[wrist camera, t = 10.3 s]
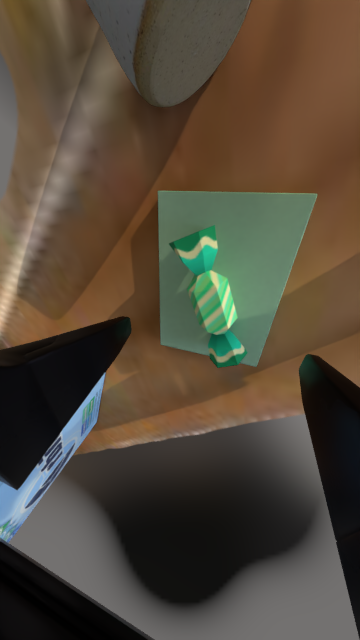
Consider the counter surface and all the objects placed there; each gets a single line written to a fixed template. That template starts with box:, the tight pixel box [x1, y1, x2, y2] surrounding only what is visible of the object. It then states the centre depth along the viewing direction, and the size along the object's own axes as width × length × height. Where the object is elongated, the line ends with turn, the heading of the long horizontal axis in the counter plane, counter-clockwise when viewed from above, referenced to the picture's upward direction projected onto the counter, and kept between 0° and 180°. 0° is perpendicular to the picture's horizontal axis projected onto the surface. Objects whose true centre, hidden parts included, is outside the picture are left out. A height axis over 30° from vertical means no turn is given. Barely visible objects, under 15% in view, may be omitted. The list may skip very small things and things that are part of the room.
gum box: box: [0, 373, 105, 543], centre depth 27 cm, size 20×5×23 cm, turn 159°
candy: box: [169, 225, 248, 368], centre depth 16 cm, size 12×3×4 cm
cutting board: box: [158, 191, 317, 367], centre depth 18 cm, size 12×16×1 cm
